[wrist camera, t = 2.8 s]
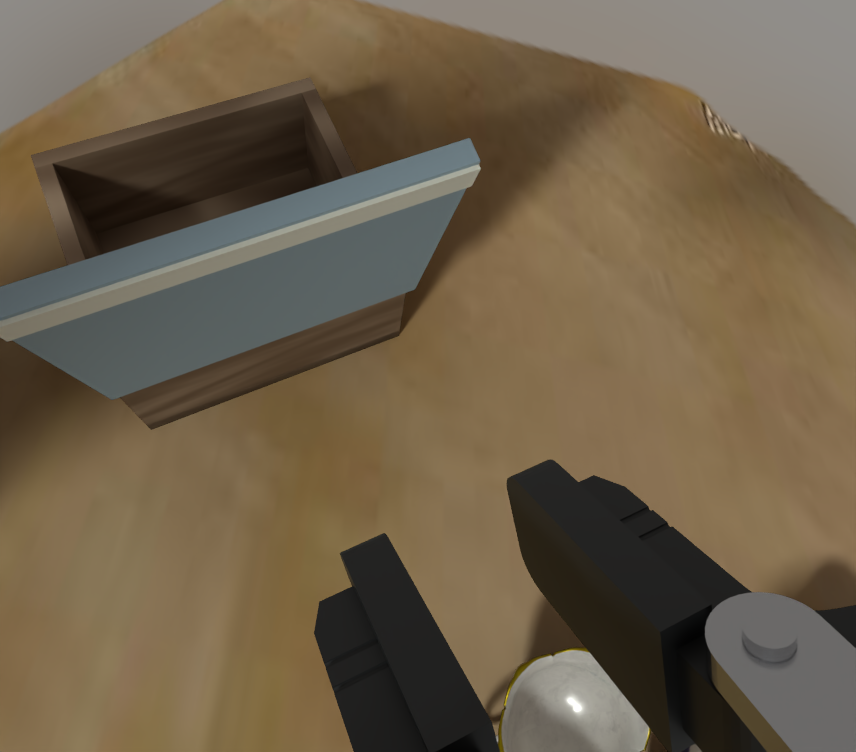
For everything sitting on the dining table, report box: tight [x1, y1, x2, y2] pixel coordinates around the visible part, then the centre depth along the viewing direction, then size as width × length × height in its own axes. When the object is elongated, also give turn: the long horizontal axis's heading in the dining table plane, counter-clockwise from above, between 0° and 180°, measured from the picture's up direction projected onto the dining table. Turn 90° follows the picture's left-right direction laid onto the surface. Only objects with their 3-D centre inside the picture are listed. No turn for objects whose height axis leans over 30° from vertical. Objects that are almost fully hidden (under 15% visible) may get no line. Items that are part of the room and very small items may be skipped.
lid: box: [0, 138, 481, 400], centre depth 33 cm, size 16×18×1 cm
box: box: [31, 78, 406, 430], centre depth 47 cm, size 16×18×9 cm
